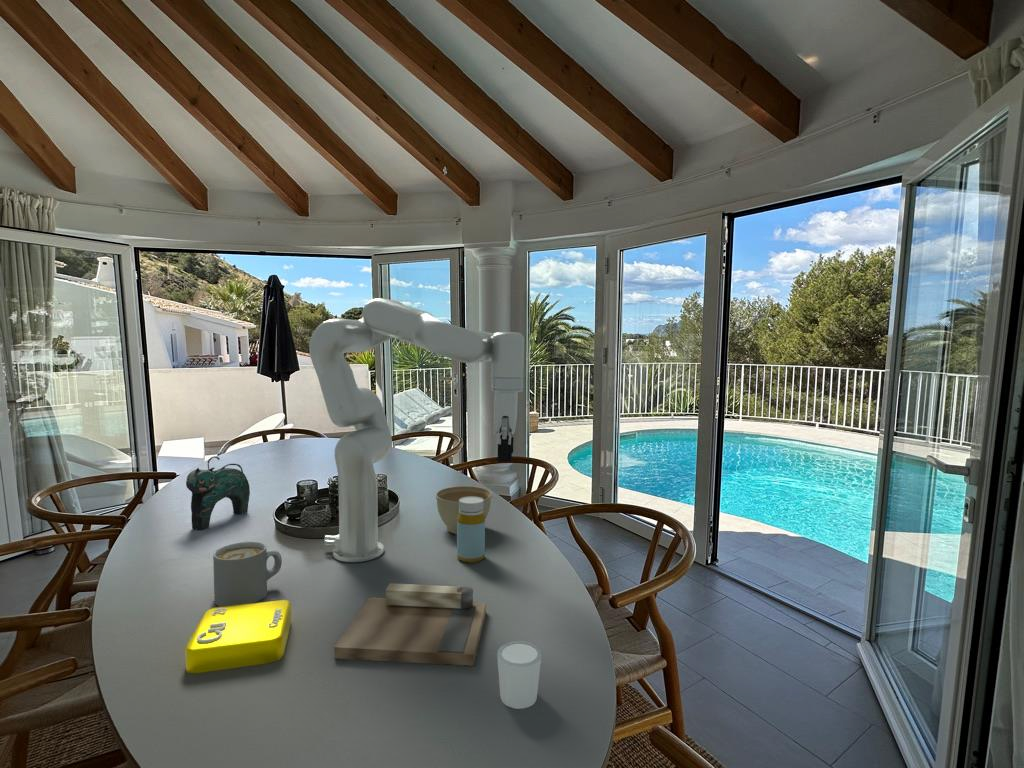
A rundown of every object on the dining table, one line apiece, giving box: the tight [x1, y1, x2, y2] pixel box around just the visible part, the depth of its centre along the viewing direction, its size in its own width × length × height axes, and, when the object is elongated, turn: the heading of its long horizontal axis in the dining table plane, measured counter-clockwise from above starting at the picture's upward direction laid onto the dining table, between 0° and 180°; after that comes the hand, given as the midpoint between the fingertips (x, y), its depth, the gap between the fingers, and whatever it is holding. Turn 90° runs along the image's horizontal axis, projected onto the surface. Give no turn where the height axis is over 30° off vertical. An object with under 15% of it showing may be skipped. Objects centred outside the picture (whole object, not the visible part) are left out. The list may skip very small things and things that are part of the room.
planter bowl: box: [435, 485, 493, 535], centre depth 154 cm, size 16×16×11 cm
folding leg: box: [385, 582, 474, 609], centre depth 106 cm, size 17×3×3 cm, turn 86°
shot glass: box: [496, 640, 543, 710], centre depth 81 cm, size 7×7×7 cm
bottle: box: [456, 496, 486, 564], centre depth 134 cm, size 7×7×15 cm
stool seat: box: [333, 597, 487, 667], centre depth 99 cm, size 24×18×2 cm
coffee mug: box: [212, 541, 283, 607], centre depth 113 cm, size 13×10×10 cm
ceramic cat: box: [185, 456, 251, 531], centre depth 159 cm, size 20×6×20 cm, turn 161°
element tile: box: [184, 599, 292, 674], centre depth 95 cm, size 15×15×5 cm
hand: (505, 457), depth 125 cm, fingers open, 9 cm apart
